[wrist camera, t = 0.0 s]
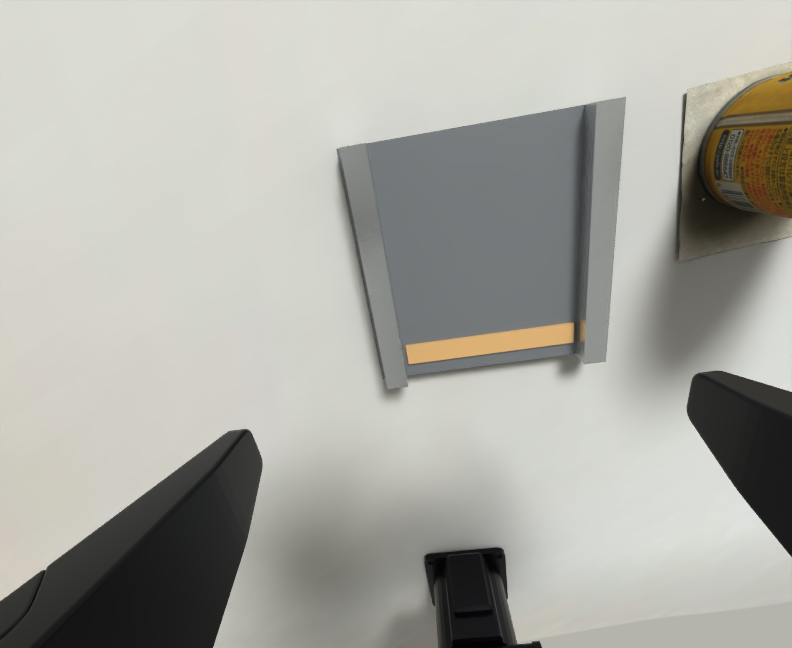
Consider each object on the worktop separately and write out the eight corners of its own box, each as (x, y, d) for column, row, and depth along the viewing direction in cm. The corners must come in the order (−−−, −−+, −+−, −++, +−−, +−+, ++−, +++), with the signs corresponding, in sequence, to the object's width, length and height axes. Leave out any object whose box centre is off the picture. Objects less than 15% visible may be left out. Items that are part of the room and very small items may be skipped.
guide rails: (595, 351, 23) (605, 361, 22) (388, 378, 24) (387, 389, 22) (611, 100, 17) (625, 96, 16) (342, 147, 18) (339, 147, 17)
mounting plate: (593, 342, 24) (602, 352, 22) (383, 370, 25) (383, 380, 23) (607, 101, 18) (620, 98, 17) (339, 148, 19) (335, 149, 18)
